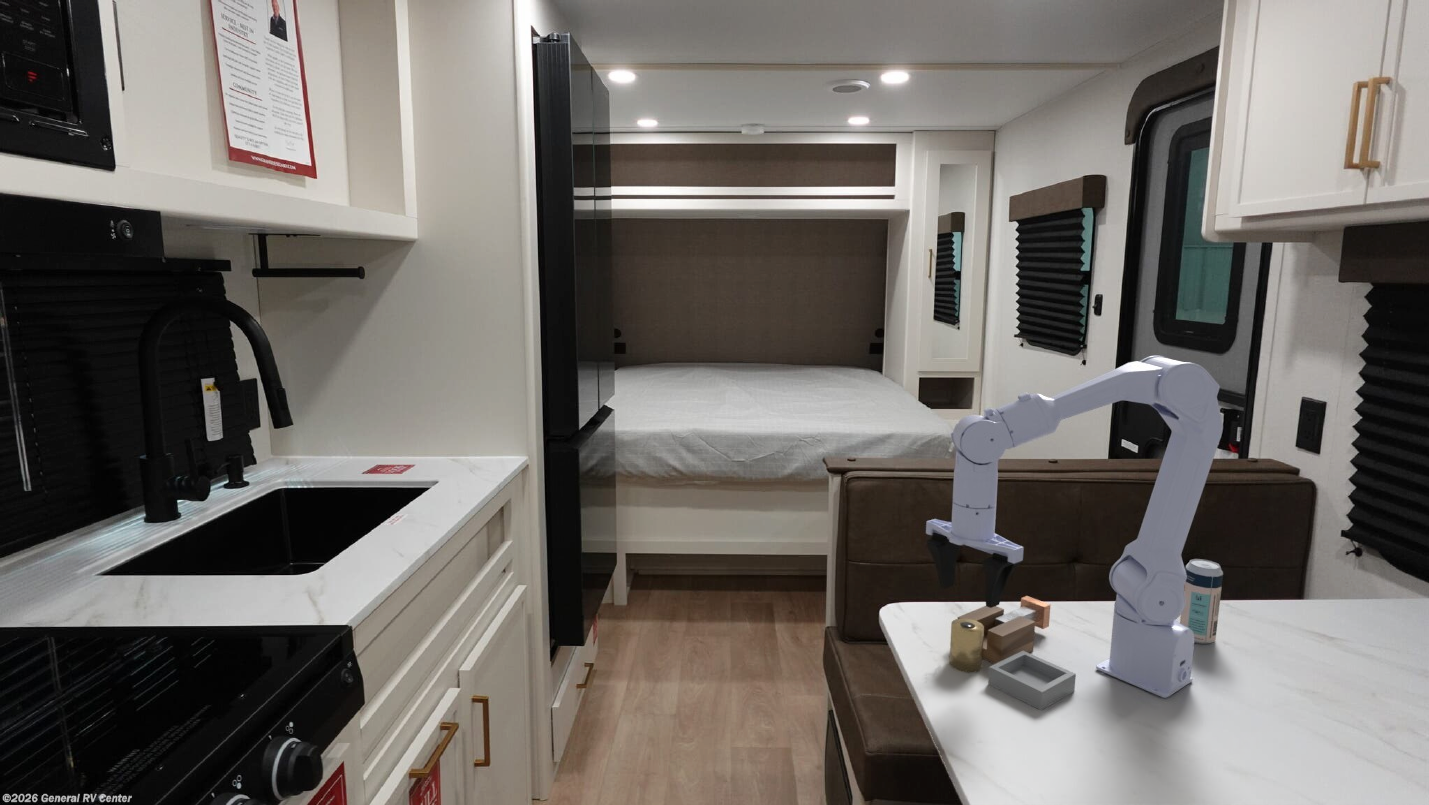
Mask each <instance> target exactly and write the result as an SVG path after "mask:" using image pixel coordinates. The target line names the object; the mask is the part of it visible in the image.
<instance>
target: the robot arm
mask: <svg viewBox="0 0 1429 805" xmlns="http://www.w3.org/2000/svg"><path fill="white" fill-rule="evenodd" d="M1220 388H1221V386H1220V384H1219V383H1218V382H1217V381H1216V380H1215V378H1214V377H1213V376H1212V375H1211V374H1210V373H1209V371H1207V370H1206V368H1204V366H1202V365H1199V364H1197V363H1194V362H1184V361H1180V360H1176V359H1171V358H1169V357H1167V356H1163V355H1150V356H1147V357H1145V358H1143V359H1141V360H1139V361H1137V360H1135V361H1130V362H1127V363H1125V364H1123V365H1121V366H1119V367H1117V368H1115V369H1113V370H1111V371H1108V372H1105V373H1104V374H1102V375H1098V376H1097V377H1095V378H1091V379H1090V380H1088V381H1085V382H1083V383H1080V384H1078V385H1076V386H1074V387H1071V388H1069V389H1067V390H1064V391H1061V392H1060V393H1057V394H1056V395H1053V396H1050V397H1048V396H1045V395H1043V394H1042V393H1041V394H1040V393H1033V394H1031V395H1030V393H1028V392H1026V391H1025V392H1023V393H1021V394H1018V395H1017V398H1018V399H1017V400H1015V401H1013V402H1009V403H1006V404H1005V405H1002V406H999V407H997V408H994V409H993V408H992V407H988V408H987V407H986V408H985V409H983V413H984V416H983V415H980V414H979V415H978V414H970V415H967V416H964V417H962V418H961V419H960V420H959V421H958V423H956V424H955V426H954V428H953V432H951V433H950V438H951V442H952V444H953V445H954V447H955V448H956V450H955V465H954V466H955V467H954V470H953V486H952V487H953V488H952V505H951V506H952V509H951V521H945V520H942V519H941V520H940V519H937V518H934V519H933V518H932V519H931V520H927V521H926V525H925V534H926V535H928V536H931V537H930V539H927V540H925V541H926V542H925V543H926V544H925V545H926V547H927V549H928V551H929V553H930V555H931V556H932V557H931V558H932V560H933V562H934V565H935V568H936V572H937V576H938V580H939V585H940V588H941V589H943V590H946V589H949V588H952V587H954V584H955V578H956V568H957V567H956V566H957V559H958V554H959V549H960V546H967V547H970V548H973V549H975V550H979V551H982V552H985V553H988V554H990V555H992V556H989V557H986V558H984V559H981V564H982V567H983V570H984V577H985V578H984V579H985V601H984V602H985V606H987V607H989V608H992V607H994V606H997V607H998V606H999V605H1000V603H1001V600H1002V596H1003V593H1004V590H1005V588H1006V585H1007V583H1008V581H1009V579H1010V578H1011V576H1012V575H1013V573H1014V571H1015V570H1016V569H1017V567H1018V566H1019V565H1020V563H1021V562H1022V561H1024V560H1023V559H1024V549H1025V547H1024V546H1022V545H1019V544H1017V543H1015V542H1012V541H1011V540H1008V539H1006V538H1005V537H1003V536H1001V535H999V534H997V533H996V532H995V531H996V530H995V529H996V518H997V514H996V513H997V501H998V500H997V497H998V483H999V482H998V479H999V472H998V470H999V459H1001V458H1002V457H1003V455H1004V454H1005V452H1006V450H1011V449H1014V448H1016V447H1019V446H1021V445H1024V444H1027V443H1030V442H1032V441H1034V440H1038V439H1040V438H1043V437H1046V436H1048V435H1051V434H1054V433H1055V432H1056V431H1057V429H1058V427H1059V425H1060V423H1061V422H1062V421H1063V420H1066V419H1069V418H1071V417H1074V416H1077V415H1080V414H1084V413H1087V412H1090V411H1093V410H1096V409H1099V408H1102V407H1105V406H1109V405H1111V404H1114V403H1117V402H1121V401H1128V402H1132V403H1137V404H1139V403H1140V404H1145V405H1149V406H1150V407H1152V409H1153V408H1154V410H1155V411H1157V412H1158V414H1159V415H1160V417H1161V418H1162V419H1163V421H1164V422H1165V423H1166V425H1167V426H1168V428H1169V429H1170V430H1171V434H1170V437H1169V440H1168V442H1167V447H1166V449H1165V451H1164V452H1165V453H1164V454H1163V458H1162V462H1161V463H1160V467H1159V471H1158V474H1157V476H1156V480H1155V483H1154V486H1153V489H1152V492H1151V496H1150V498H1149V502H1148V505H1147V508H1146V511H1145V513H1144V517H1143V520H1142V523H1141V527H1140V529H1139V532H1138V535H1137V538H1136V539H1135V540H1132V542H1130V543H1128V544H1127V545H1125V546H1124V550H1123V553H1122V555H1121V557H1120V558H1119V559H1117V561H1116V562H1115V563H1114V564H1113V565H1112V566H1111V568H1110V571H1109V575H1108V576H1109V577H1108V580H1109V584H1110V586H1111V588H1112V589H1113V590H1114V592H1115V593H1116V599H1115V601H1114V604H1113V605H1114V608H1113V616H1112V617H1113V618H1112V629H1111V630H1112V631H1111V639H1110V641H1111V642H1110V652H1109V658H1108V659H1106V660H1103V661H1102V662H1100V663H1098V664H1097V665H1096V666H1095V669H1096V670H1097V671H1100V672H1102V673H1105V674H1106V675H1109V676H1112V677H1114V678H1115V679H1119V680H1121V681H1123V682H1126V683H1127V684H1130V685H1133V686H1135V687H1137V688H1140V689H1141V690H1144V691H1147V692H1149V693H1151V694H1154V695H1155V696H1158V697H1161V698H1165V699H1167V698H1169V697H1170V696H1172V695H1173V694H1174V693H1176V692H1177V691H1179V690H1181V689H1183V688H1184V687H1185V686H1186V685H1188V684H1190V683H1191V682H1193V677H1192V668H1193V658H1194V651H1195V650H1194V648H1195V642H1194V633H1193V631H1192V630H1191V629H1189V628H1187V627H1185V626H1183V625H1182V624H1180V621H1177V619H1178V618H1179V617H1181V614H1182V612H1183V611H1184V608H1185V604H1186V598H1185V593H1184V585H1185V582H1186V579H1187V575H1186V571H1185V569H1186V567H1185V565H1184V562H1183V558H1182V552H1183V550H1184V547H1185V544H1186V541H1187V538H1188V534H1189V532H1190V529H1191V526H1192V523H1193V521H1194V516H1195V514H1196V512H1197V508H1198V505H1199V503H1200V499H1201V496H1202V494H1203V490H1204V488H1205V485H1206V482H1207V479H1208V475H1209V473H1210V470H1211V466H1212V464H1213V460H1214V457H1215V454H1216V452H1217V449H1218V446H1219V442H1220V440H1221V438H1222V434H1223V430H1224V425H1223V419H1222V416H1221V410H1220V405H1219V400H1218V394H1219V391H1220Z"/></svg>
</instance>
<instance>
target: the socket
mask: <svg viewBox="0 0 1429 805" xmlns="http://www.w3.org/2000/svg"><path fill="white" fill-rule="evenodd" d="M1076 677H1077V673H1075V672H1073V671H1070V670H1068V669H1066V668H1063V667H1061V666H1059V665H1057V664H1054V663H1052V662H1049V661H1048V660H1046V659H1044V658H1041V657H1038V656H1037V655H1034V654H1033V653H1032V654H1031V652H1030V653H1027V652H1025V651H1021V652H1019V653H1017V654H1015V655H1013V656H1011V657H1009V658H1007V659H1005V660H1002V661H1000V662H998V663H996V664H994V663H993V664H992V665H990V666H989V667H988V682H987V684H988V685H989V686H992V687H994V688H995V689H998V690H999V691H1002V692H1004V693H1005V694H1007V695H1009V696H1012V697H1013V698H1015V699H1018V700H1020V701H1022V702H1024V703H1025V704H1028V705H1029V706H1032V707H1034V708H1036V709H1038V710H1040V711H1042V710H1044V709H1046V708H1047V707H1049V706H1051V705H1053V704H1054V703H1056V702H1058V701H1059V700H1062V699H1063V698H1065V697H1066V696H1069V695H1070V694H1073V693H1074V692H1075V690H1076Z"/></svg>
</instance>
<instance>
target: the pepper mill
mask: <svg viewBox="0 0 1429 805" xmlns="http://www.w3.org/2000/svg"><path fill="white" fill-rule="evenodd" d="M983 637H984V626H983V625H982V624H981V623H980V622H978V621H975V620H971V619H958V618H956V619H953V620H952V621H951V626H950V641H949V642H950V643H949V644H950V645H949V647H950V648H949V661H948V663H949V665H950V666H951V668H953V669H955V670H956V671H959V672H962V673H968V674H969V673H977V672H980V671H981V670H982V667H983V658H982V654H983Z"/></svg>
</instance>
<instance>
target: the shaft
mask: <svg viewBox="0 0 1429 805" xmlns="http://www.w3.org/2000/svg"><path fill="white" fill-rule="evenodd" d="M1019 616H1022V617H1025V618H1027V619H1030V620H1032V621H1035V628H1039V629H1041V630H1044V629H1046V628H1048V627H1050V618H1051V604H1050V603H1048V602H1045V601H1041V600H1039V599H1037V598H1034V597H1031V596H1028V595H1025V596H1023V597H1021V598H1020V607H1019V608H1017V609H1014V610H1012V611H1010V612H1008V613H1004V615H1002V616H1000V617H998V618H995V627H996V626H998V625H1001V624H1003V623H1005V622H1008V621H1010V620H1012V619H1015V618H1017V617H1019Z"/></svg>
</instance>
